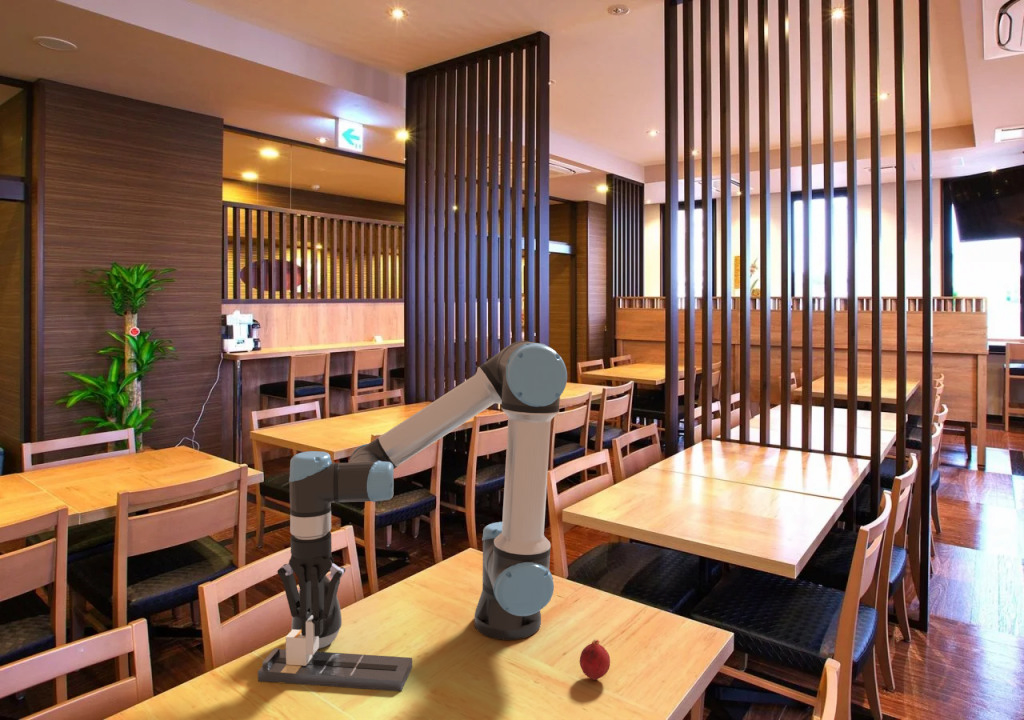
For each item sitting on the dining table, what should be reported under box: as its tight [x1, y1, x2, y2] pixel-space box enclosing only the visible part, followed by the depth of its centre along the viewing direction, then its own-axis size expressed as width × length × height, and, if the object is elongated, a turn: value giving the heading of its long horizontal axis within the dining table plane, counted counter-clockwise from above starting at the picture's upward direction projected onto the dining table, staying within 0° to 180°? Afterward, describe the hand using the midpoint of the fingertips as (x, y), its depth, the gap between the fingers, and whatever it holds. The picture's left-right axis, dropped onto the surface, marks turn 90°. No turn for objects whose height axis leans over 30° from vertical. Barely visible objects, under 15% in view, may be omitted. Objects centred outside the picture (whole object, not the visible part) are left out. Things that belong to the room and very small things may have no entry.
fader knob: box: [285, 628, 312, 666], centre depth 124 cm, size 4×3×6 cm
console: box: [257, 647, 413, 692], centre depth 124 cm, size 28×8×3 cm, turn 84°
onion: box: [579, 638, 611, 681], centre depth 123 cm, size 6×6×8 cm
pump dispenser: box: [291, 574, 343, 650], centre depth 135 cm, size 10×10×15 cm
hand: (312, 650), depth 124 cm, fingers closed
